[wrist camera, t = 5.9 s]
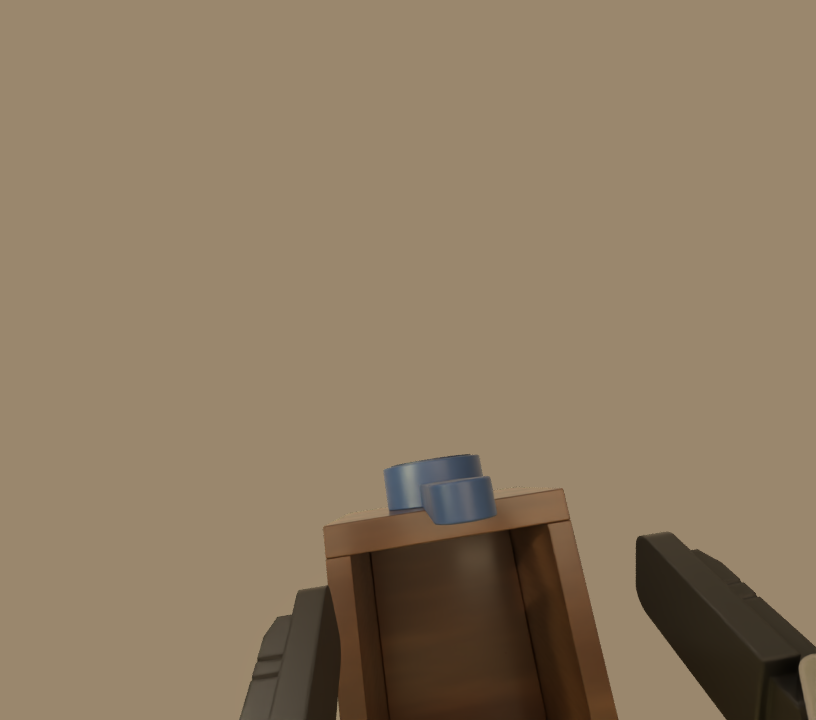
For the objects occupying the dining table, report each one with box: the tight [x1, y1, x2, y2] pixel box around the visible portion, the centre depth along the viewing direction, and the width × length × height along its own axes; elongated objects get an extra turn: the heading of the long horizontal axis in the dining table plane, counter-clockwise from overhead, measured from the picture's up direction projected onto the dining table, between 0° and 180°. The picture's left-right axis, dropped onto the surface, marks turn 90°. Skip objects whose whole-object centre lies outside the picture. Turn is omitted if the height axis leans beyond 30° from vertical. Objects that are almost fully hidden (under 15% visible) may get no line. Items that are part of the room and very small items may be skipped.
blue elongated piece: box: [384, 454, 497, 525], centre depth 21 cm, size 17×6×2 cm, turn 0°
